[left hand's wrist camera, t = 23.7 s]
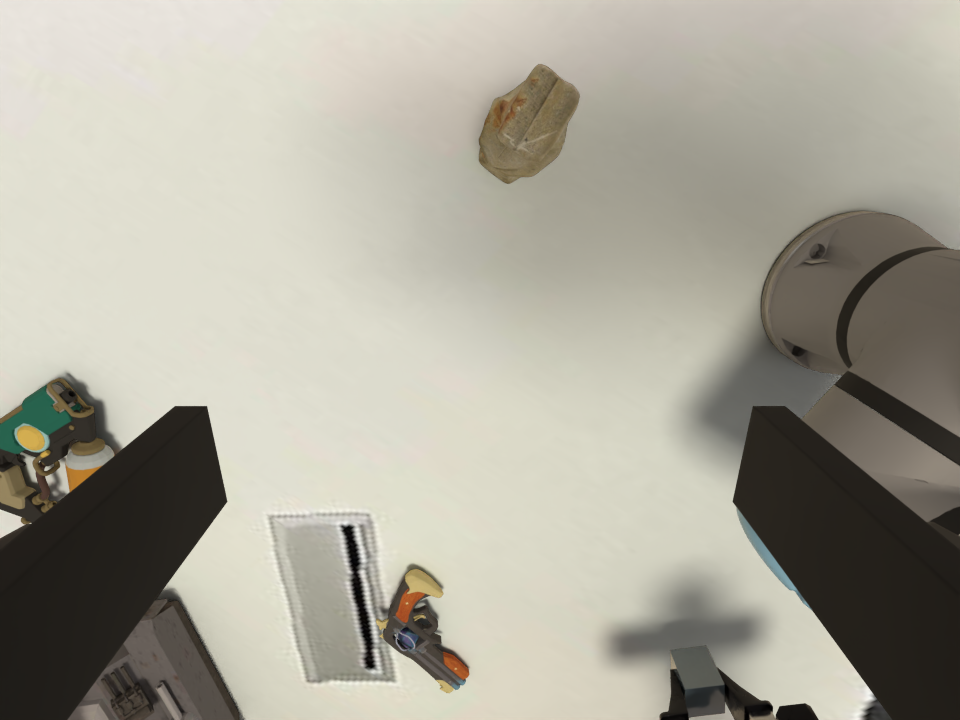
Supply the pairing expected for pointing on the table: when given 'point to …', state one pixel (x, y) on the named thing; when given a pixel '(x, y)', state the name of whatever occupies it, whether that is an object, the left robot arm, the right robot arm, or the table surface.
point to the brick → (699, 681)
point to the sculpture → (527, 126)
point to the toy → (159, 675)
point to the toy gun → (421, 632)
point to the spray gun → (47, 447)
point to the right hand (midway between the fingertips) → (691, 669)
